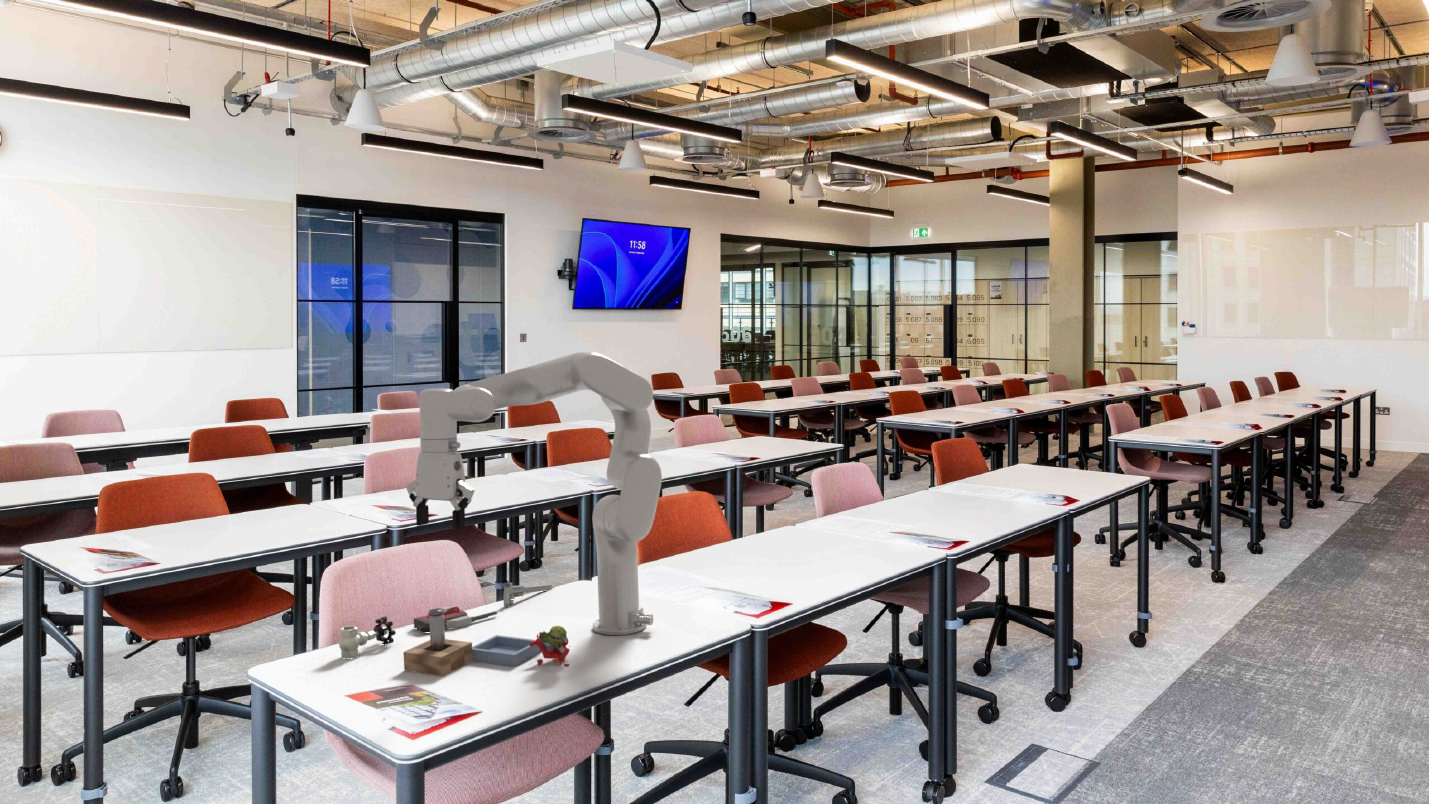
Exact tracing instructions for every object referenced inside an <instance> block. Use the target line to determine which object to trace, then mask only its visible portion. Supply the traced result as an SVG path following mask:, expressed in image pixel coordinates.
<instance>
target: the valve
mask: <svg viewBox="0 0 1429 804" xmlns="http://www.w3.org/2000/svg"><path fill="white" fill-rule="evenodd" d="M374 622H375V624H376V625H375V626H374V627H373V630H370V631H368V632H366V633H365V631H358V627H357V626H356V625H346V626H345V625H344V626H343V627H340V628H339V635H340V637H339V641H338V646H339V648H340V651H341V652H340V654H341V659H342V658H349V659H348V660H351V659H350V658H354V659H356V658H358V657H359V649H358V648H359V647H360V646H365V645H366V644H367V642H368V641H371V640H374V639H375V640H376V641H378V642H381V645H382V644H384V645H383V646H386V645H385V644H387V645H389V644H392V643H394V638H393V636H394V635H396V633H397V632H396V630H395V629H392V626H394V622H393V621H392V620H391V621H388V618H387V616H382V617H380V618H378V619H375V621H374ZM382 625H384V627H382ZM386 635H387V637H385V636H386ZM357 656H358V657H357ZM355 657H356V658H355Z"/></svg>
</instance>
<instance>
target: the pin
mask: <svg viewBox="0 0 1429 804" xmlns="http://www.w3.org/2000/svg"><path fill="white" fill-rule="evenodd" d="M441 608H442V607H439V608H432V609H429V610H428V612H429V621H430V633H429V638H430V639H429V640H430V642H431V651H438V652H440V651H442V650H444V649H445V639H446V629H445V627H444V611H445V610H444V609H441Z"/></svg>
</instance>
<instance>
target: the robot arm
mask: <svg viewBox="0 0 1429 804" xmlns="http://www.w3.org/2000/svg"><path fill="white" fill-rule="evenodd" d="M583 390H586V391H591V392H594V393H595V394H597V395H598V396H600V398H601V400H602V403H604V405H605V406H606V407H607V408H608V410H610V411H609V412H611V414H612V417H613V420H614V434H613V441H612V445H611V449H610V453H609V459H608V463H607V467H606V468H607V469H606V479H607V481H608V483H609V484H610V485H611V486H612V487H613V488H615V489H617V490H620V493H619V494H620V495H618V494H609V495H606V496H604V497H602V498H600V499H599V500H598V502H596V504H595V505H594V508H593V511H592V516H591V517H592V519H591V520H592V528H593V533H594V537H595V545H596V547H595V548H596V561H597V562H596V565H597V566H596V567H597V569H596V570H597V594H598V619H597V620H595V621H593V623H592V629H593V631H594V632H595V633H598V634H600V635H607V636H623V635H624V636H625V635H631V634H634V633H638V632H641V631H644V629H645V628H646V627H647V625H648V626H652V625H653V624H654V615H653V614H649V613H644V607H643V606H640V599H639V598H640V597H639V595H640V593H639V573H638V572H639V565H638V562H639V559H638V557H639V556H638V549H637V548H638V547H637V542H640V541H642V540H644V539H645V538H646V537H647V536H648V535H649V533H650V531H651V529H652V527H653V524H654V521H655V518H656V517H655V515H656V513H657V507H658V504H659V503H658V502H659V499H660V493H661V487H662V482H663V476H662V475H663V474H662V469H661V466H660V464H659V462H658V461H657V460H656V458H654V457H653V456H651V455H650V454H649V453H648V452H649V447H650V446H649V445H650V440H651V434H652V433H651V431H652V425H651V418H650V414H649V411H648V409H649V407H650V405H651V404H652V402H653V400H654V390H653V386H652V384H651V383H650V382H649V380H648V379H646V378H645V377H644V376H643V375H641V374H639V373H637V372H634V371H633V370H631V369H630V368H627V367H626V366H624V365H622V364H620V363H619V362H616V361H615V360H613V359H611V358H609V357H607V356H605V355H603V354H601V353H598V352H585V351H584V352H582V351H581V352H576V353H575V352H574V353H571V354H567V355H564V356H561V357H557V358H554V359H551V360H548V361H543V362H540V363H538V364H535V365H534V364H533V365H530V366H526V367H523V368H520V369H515V370H512V371H509V372H506V373H505V372H504V373H501V374H498V375H493V376H490V377H487V378H483V379H479V380H475V381H473V382H469V383H466V384H462V385H460V386H458V387H456V388H455V389H454V390H453V389H452V388H445V387H442V388H426V389H422V390H421V392H420V393H419V398H418V399H419V400H418V401H419V438H420V439H419V440H420V445H419V446H420V452H419V453H418V456H417V463H416V470H415V471H416V472H415V473H416V476H415V480H414V481H412V482H410V483H409V484H407V485H406V486H405V488H406V490H407V494H408V495H409V496H408V497H409V499H410V501H411V502H412V505H413V507H415V510H416V511H415V512H416V513H415V515H416V516H415V517H416V519H415V520H416V526H418V527H421V526H424V525H427V524H429V523H430V518H429V514H430V513H429V511H430V509H429V505H428V504H427V503H428V502H429V501H430V500H431V501H445V502H448V501H449V502H450V503H451V505H452V507H453V508H454V510H452V512H451V513H452V529H453V530H458V529H462V528H465V525H466V509H468V506H469V504H470V503H471V502H472V499H473V496H474V493H475V489H474V488H473V487H471V486H469V485H468V484H467V483H466V476H465V468H464V462H463V458H462V453H461V452H458V449H460V447H461V443H460V441H458V432H457V431H458V429H457V428H458V425H457V422H470V423H481V422H484V421H486V420H489V419H491V417H492V416H493V414H494V413H495V411H496V410H500V409H503V408H508V407H515V406H516V407H517V406H530V405H531V406H532V405H537V404H541V403H545V402H548V401H551V400H554V399H557V398H559V397H564V396H566V395H570V394H574V393H576V392H579V391H583Z"/></svg>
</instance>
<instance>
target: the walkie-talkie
mask: <svg viewBox="0 0 1429 804" xmlns="http://www.w3.org/2000/svg"><path fill="white" fill-rule="evenodd" d="M440 608H441V609H444V627H445V628H447V629H446V630H450V629H449V628H457V629H460V627H461V628H464V627H469V626H472V624H473V623H475V621H480V620H484V619H487V618H488V617H491V616H495V615H498V611H495V610H494V611H491V612H487V613H484V614H483V613H482V614H480V615H475V616H469V615H468V613H467V612H466V611H465V610H461V609H460V608H459V607H458V606H456V605H453V604H451V605H447V606H443V607H440ZM414 628H417V630H420V631H421V633H422V632H430V621H429V611H428V612H427V614H426V615H423V616H418V617H414V618H413V629H414ZM417 630H416V631H417ZM420 631H419V632H420Z"/></svg>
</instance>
